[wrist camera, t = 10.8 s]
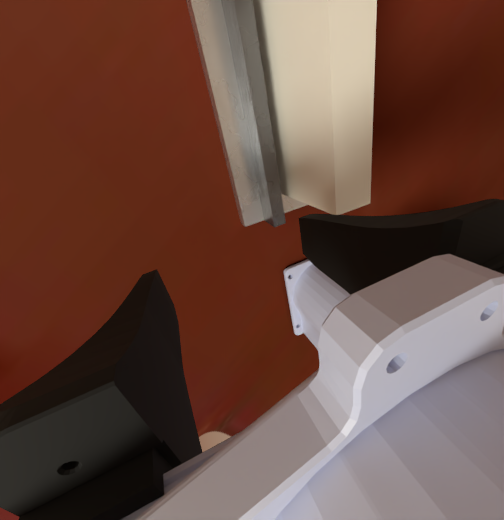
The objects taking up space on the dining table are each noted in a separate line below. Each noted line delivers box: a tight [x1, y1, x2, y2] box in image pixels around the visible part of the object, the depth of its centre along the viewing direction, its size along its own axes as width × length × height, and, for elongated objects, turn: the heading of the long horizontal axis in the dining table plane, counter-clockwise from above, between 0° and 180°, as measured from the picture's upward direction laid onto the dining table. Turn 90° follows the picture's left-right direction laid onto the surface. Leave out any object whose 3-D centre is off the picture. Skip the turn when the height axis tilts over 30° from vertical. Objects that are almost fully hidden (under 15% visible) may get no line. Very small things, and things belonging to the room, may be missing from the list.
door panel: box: [253, 0, 377, 215], centre depth 15 cm, size 12×2×7 cm, turn 12°
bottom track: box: [186, 0, 308, 227], centre depth 17 cm, size 16×10×3 cm, turn 12°
